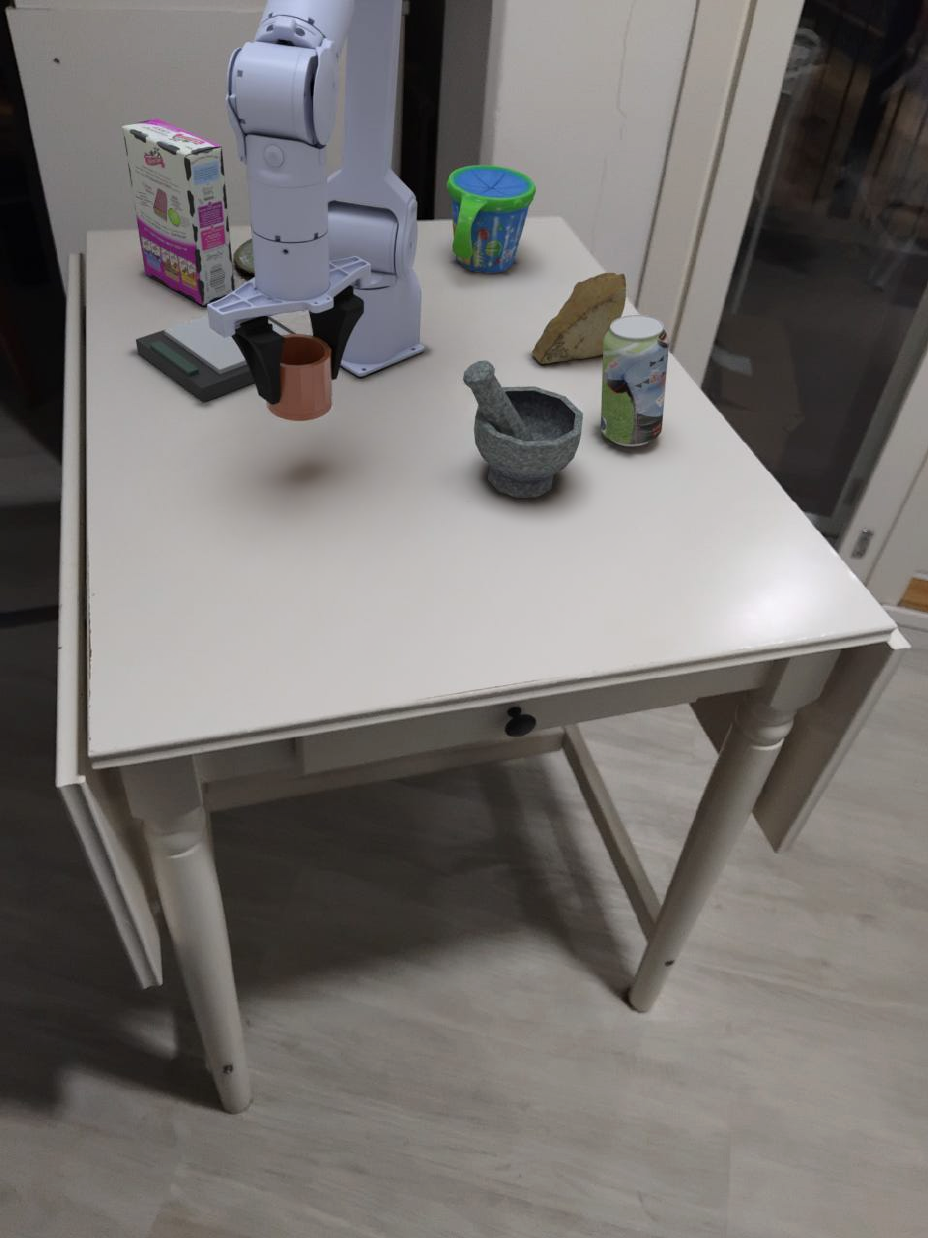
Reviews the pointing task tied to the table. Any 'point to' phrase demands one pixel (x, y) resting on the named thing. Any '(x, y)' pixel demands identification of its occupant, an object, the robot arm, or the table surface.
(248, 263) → the lid
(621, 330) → the beverage can
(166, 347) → the scale
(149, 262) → the candy bar box
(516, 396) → the mortar and pestle
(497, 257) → the snack cup
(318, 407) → the terracotta cup
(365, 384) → the table surface
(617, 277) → the rock
